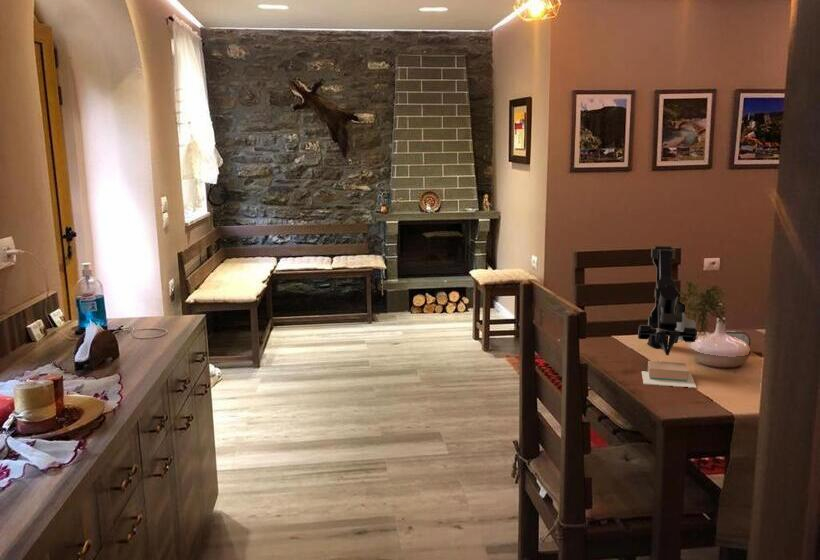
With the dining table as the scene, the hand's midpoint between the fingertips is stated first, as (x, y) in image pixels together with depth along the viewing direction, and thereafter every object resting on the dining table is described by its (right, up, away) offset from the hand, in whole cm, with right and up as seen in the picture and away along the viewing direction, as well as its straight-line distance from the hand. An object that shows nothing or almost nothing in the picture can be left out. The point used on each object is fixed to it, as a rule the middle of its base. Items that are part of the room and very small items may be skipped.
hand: (667, 354), depth 226 cm
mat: (-2, -8, -5) cm, 9 cm away
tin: (+34, -2, +27) cm, 43 cm away
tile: (0, -4, +2) cm, 5 cm away
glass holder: (+24, +2, +48) cm, 54 cm away
